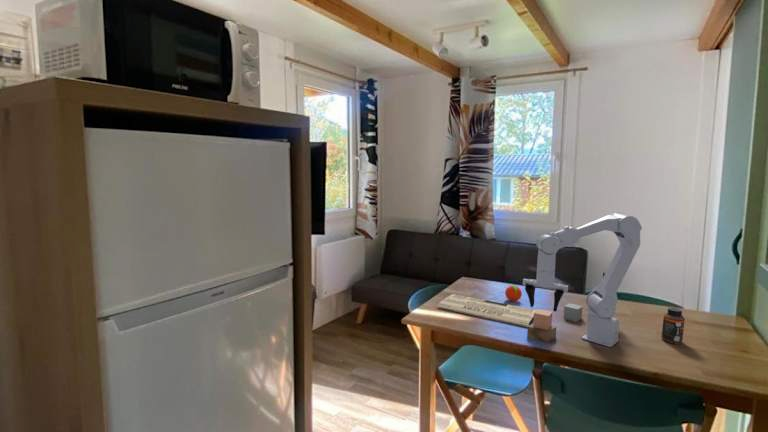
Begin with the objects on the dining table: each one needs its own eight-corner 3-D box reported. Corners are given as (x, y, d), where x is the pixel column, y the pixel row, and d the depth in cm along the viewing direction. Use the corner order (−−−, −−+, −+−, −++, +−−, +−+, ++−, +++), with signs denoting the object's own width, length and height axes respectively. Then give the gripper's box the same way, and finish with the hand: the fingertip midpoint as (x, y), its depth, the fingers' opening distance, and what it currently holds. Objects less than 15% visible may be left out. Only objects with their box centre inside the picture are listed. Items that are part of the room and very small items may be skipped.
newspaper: (539, 315, 168) (539, 308, 168) (526, 331, 152) (527, 323, 152) (454, 298, 188) (454, 292, 188) (435, 310, 172) (435, 304, 172)
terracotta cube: (551, 325, 146) (552, 311, 145) (548, 330, 142) (549, 316, 141) (536, 322, 149) (537, 308, 148) (533, 326, 144) (533, 313, 144)
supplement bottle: (682, 345, 140) (686, 313, 139) (661, 341, 143) (664, 310, 142) (681, 339, 145) (684, 308, 144) (661, 335, 148) (664, 305, 147)
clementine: (524, 304, 179) (525, 288, 178) (508, 304, 179) (508, 288, 178) (518, 298, 187) (519, 283, 186) (503, 298, 187) (503, 282, 186)
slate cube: (581, 318, 164) (582, 306, 163) (576, 321, 161) (577, 309, 160) (568, 315, 168) (569, 303, 167) (563, 318, 164) (564, 306, 163)
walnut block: (555, 337, 145) (556, 326, 145) (546, 343, 140) (547, 332, 140) (536, 331, 150) (537, 321, 150) (527, 337, 145) (527, 326, 145)
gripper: (570, 270, 142) (568, 309, 144) (527, 264, 150) (525, 301, 152) (566, 275, 136) (564, 315, 138) (521, 268, 144) (519, 306, 146)
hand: (543, 308), depth 144 cm, fingers open, 7 cm apart
